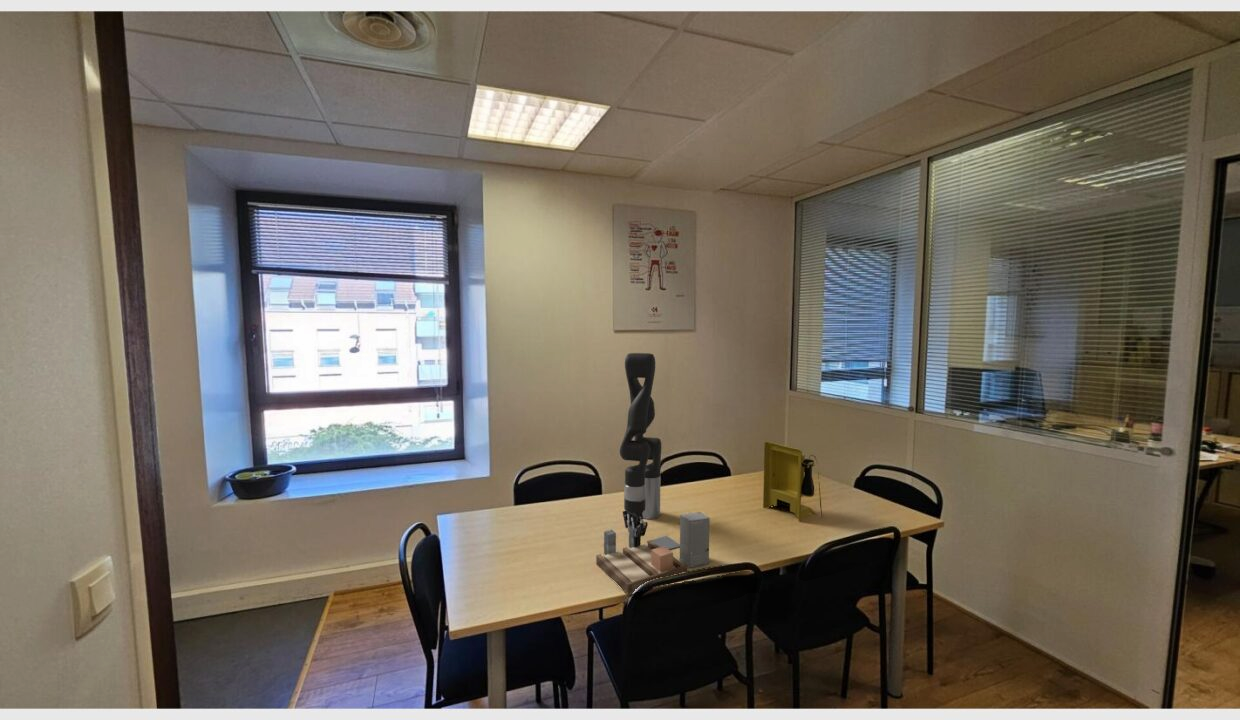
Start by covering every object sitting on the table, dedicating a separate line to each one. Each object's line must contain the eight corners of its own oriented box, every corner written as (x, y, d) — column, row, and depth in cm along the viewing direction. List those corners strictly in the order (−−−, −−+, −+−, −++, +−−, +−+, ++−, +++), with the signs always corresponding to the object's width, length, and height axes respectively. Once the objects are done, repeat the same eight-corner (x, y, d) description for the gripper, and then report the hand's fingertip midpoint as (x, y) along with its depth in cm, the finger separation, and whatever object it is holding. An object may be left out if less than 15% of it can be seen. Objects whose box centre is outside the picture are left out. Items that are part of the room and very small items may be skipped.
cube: (651, 564, 148) (651, 549, 148) (663, 560, 151) (664, 546, 150) (660, 571, 144) (660, 556, 144) (672, 567, 146) (673, 552, 146)
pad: (646, 542, 169) (646, 541, 169) (666, 536, 173) (666, 535, 173) (660, 552, 161) (660, 551, 161) (681, 546, 165) (681, 545, 165)
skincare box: (689, 568, 150) (689, 521, 149) (678, 558, 157) (678, 513, 156) (710, 563, 154) (711, 517, 153) (698, 553, 160) (699, 509, 159)
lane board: (596, 564, 153) (596, 554, 153) (651, 548, 164) (651, 539, 164) (628, 595, 135) (628, 584, 134) (687, 576, 146) (687, 565, 145)
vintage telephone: (836, 521, 188) (839, 449, 186) (817, 529, 180) (819, 454, 178) (772, 497, 214) (774, 434, 212) (753, 504, 206) (754, 438, 204)
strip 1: (599, 555, 157) (599, 532, 156) (616, 550, 160) (616, 528, 159) (633, 587, 137) (633, 561, 137) (651, 581, 140) (651, 556, 140)
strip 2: (624, 548, 162) (624, 526, 161) (640, 544, 165) (640, 522, 164) (660, 578, 142) (661, 553, 142) (677, 572, 145) (677, 548, 145)
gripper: (615, 492, 165) (615, 538, 166) (636, 505, 153) (636, 554, 154) (633, 488, 169) (633, 533, 170) (654, 501, 157) (654, 549, 158)
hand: (634, 543), depth 162 cm, fingers closed on strip 2, 3 cm apart
